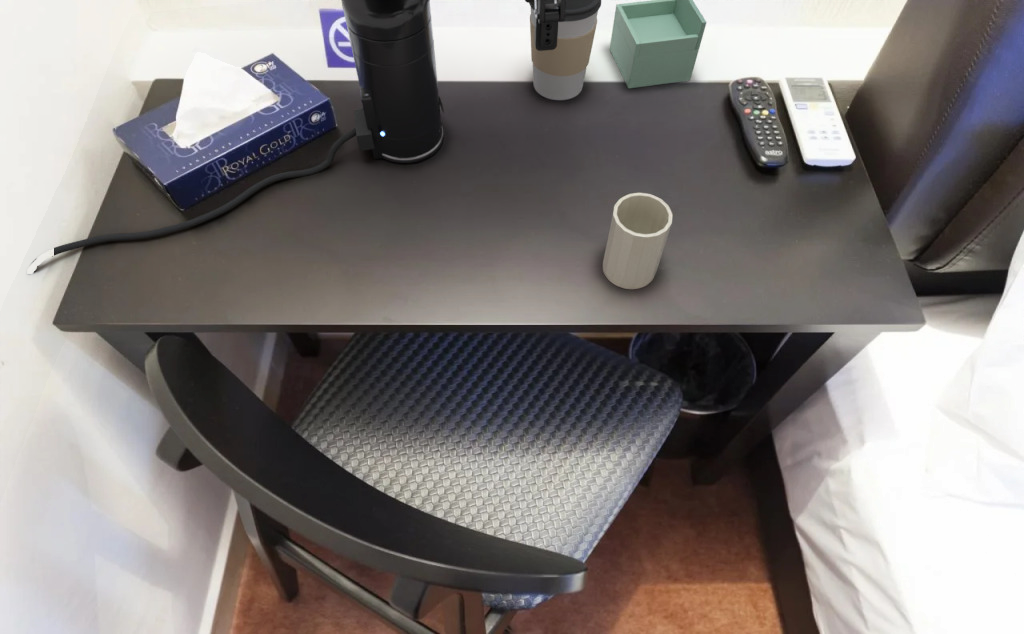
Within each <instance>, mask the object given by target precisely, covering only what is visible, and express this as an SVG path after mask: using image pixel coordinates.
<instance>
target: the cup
mask: <svg viewBox="0 0 1024 634" xmlns="http://www.w3.org/2000/svg"><path fill="white" fill-rule="evenodd" d="M672 225H673V211H672V210H671V207H670V206H669V204H667V202H665V200H663V199H662V198H660V197H658V196H656V195H653V194H651V193H646V192H633V193H628V194H626V195H624V196H622V197H621V198H619V199H618V200H617V202H616V203H615V204H614V206H613V210H612V214H611V220H610V225H609V229H608V235H607V239H606V244H605V250H604V253H603V259H602V272H603V274H604V276H605V278H606V279H607V280H608V281H609V282H610V283H611V284H613V285H615V286H616V287H619V288H622V289H625V290H638V289H642V288H644V287H646V286H648V285H649V284H650V283H651V282H652V281H653V280H654V279H655V276H656V274H657V272H658V268H659V264H660V262H661V259H662V256H663V252H664V249H665V247H666V243H667V240H668V237H669V235H670V234H669V233H670V231H671V228H672Z"/></svg>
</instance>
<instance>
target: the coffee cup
mask: <svg viewBox="0 0 1024 634" xmlns="http://www.w3.org/2000/svg"><path fill="white" fill-rule="evenodd" d="M528 4H529V6H530V15H529V30H530V55H531V63H532V82H533V83H532V84H533V88H534V90H535V91H536V93H537V94H539V95H540V96H542V97H544V98H546V99H547V100H553V101H566V100H570V99H573V98H575V97H577V96H578V95H579V94H581V92H582V90H583V87H584V81H585V78H586V77H585V76H586V73H587V67H588V66H589V64H590V59H591V54H592V48H593V44H594V40H595V35H596V31H597V25H598V14H599V10H600V8H601V6H602V0H566V9H565V12H566V18H565V21H564V22H558V37H557V47H556V48H555V49H554V50H545V51H538V50H537V49H536V47H535V15H534V9H535V2H532V3H528ZM545 4H555V2H554V0H546V1H545Z"/></svg>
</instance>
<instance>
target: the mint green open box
mask: <svg viewBox="0 0 1024 634" xmlns="http://www.w3.org/2000/svg"><path fill="white" fill-rule="evenodd" d="M706 26H707V20H706V19H705V17H704V16H703V14H702V13H701V10H700V9H699V7H698V6H697V5H696V3H695V1H694V0H643V1H635V2H625V3H618V4H617V3H616V5H615V11H614V18H613V24H612V31H611V37H610V45H609V51H610V54H611V55H612V57H613V59H614V62H615V64H616V66H617V68H618V70H619V72H620V74H621V76H622V79H623V80H624V82H625V85H626V88H627V89H635V88H643V87H652V86H660V85H666V84H674V83H675V84H676V83H681V82H690V81H691V80H692V76H693V72H694V69H695V65H696V61H697V58H698V54H699V50H700V47H701V44H702V40H703V37H704V33H705V30H706Z"/></svg>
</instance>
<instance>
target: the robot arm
mask: <svg viewBox="0 0 1024 634" xmlns="http://www.w3.org/2000/svg"><path fill="white" fill-rule="evenodd" d="M430 1H431V0H341V6H342V10H343V16H344V20H345V24H346V28H347V34H348V38H349V43H350V47H351V52H352V57H353V61H354V67H355V71H356V76H357V80H358V88H359V94H360V100H361V104H362V105H361V106H362V108H360V109H354V110H353V118H354V126H355V127H353V128H352V129H350V131H348V132H346V133H345V134H343V135H342V136H340V137H339V138H338V139H336V140H335V141H334V142H333V144H331V146H330V148H329V150H328V153H327V155H326V156H327V157H326V159H325V160H324V161H322V162H321V163H320V164H318V165H315V166H313V167H310V168H305V169H300V170H290V171H285V172H280V173H276V174H273V175H270V176H268V177H266V178H264V179H262V180H260V181H258V182H257V183H255V184H253V185H252V186H250V187H249V188H247V189H246V190H244V191H243V192H242V193H240V194H239V195H237V196H236V197H234V198H233V199H231V200H230V201H228V202H227V203H225V204H223V205H221V206H219V207H218V208H216V209H213V210H210V211H209V212H206V213H204V214H201V215H199V216H196V217H194V218H191V219H189V220H186V221H182V222H179V223H176V224H172V225H169V226H165V227H161V228H156V229H152V230H146V231H135V232H120V233H109V234H107V233H106V234H101V235H97V236H93V237H88V238H85V239H81V240H77V241H72V242H68V243H64V244H61V245H58V246H55V247H53V248H54V256H53V257H55V256H57V255H61V254H62V253H67V252H69V251H73V250H77V249H81V248H85V247H86V248H87V247H89V246H93V245H97V244H101V243H107V242H108V243H109V242H116V241H117V242H119V241H136V240H144V239H151V238H157V237H161V236H165V235H168V234H172V233H176V232H180V231H183V230H186V229H189V228H193V227H195V226H198V225H200V224H204V223H205V222H208V221H210V220H212V219H215V218H216V217H219V216H221V215H223V214H225V213H227V212H228V211H229V212H230V211H231V210H232V209H234V208H235V207H237V206H238V205H240V204H241V203H243V202H244V201H245V200H247V199H248V198H250V197H251V196H252V195H254V194H255V193H257V192H259V191H260V190H261V189H263V188H265V187H267V186H268V185H271V184H273V183H276V182H278V181H282V180H286V179H293V178H301V177H308V176H311V175H315V174H318V173H320V172H322V171H324V170H326V169H327V168H328V167H330V166H331V165H332V164H333V162H334V159H335V157H336V153H337V151H338V150H339V148H340V147H342V146H343V145H344V144H345V143H346V142H348V141H350V140H351V139H353V138H354V137H356V140H357V144H358V148H359V151H360V152H362V151H363V152H364V151H370V150H371V151H372V155H373V159H374V160H379V159H384V160H386V161H388V162H391V163H396V164H412V163H413V164H415V163H419V162H420V161H424V160H426V159H429V158H430V157H433V155H435V154H436V153H437V152H438V151H439V150H440V148H441V146H442V144H443V141H444V129H443V120H442V116H441V115H442V114H441V110H442V113H443V114H445V110H444V103H443V102H442V99H441V97H440V95H439V94H440V93H439V83H438V74H437V62H436V61H437V60H436V53H435V41H434V32H433V30H434V29H433V22H432V12H431V11H432V10H431V2H430ZM524 1H525V2H526V3H528V4H529V3H532V2H535V9H534V15H535V47H536V49H537V50H538V51H545V50H554V49H555V48H556V47H557V37H558V22H564V21H565V18H566V12H565V9H566V0H554V2H555V4H545V1H546V0H524Z"/></svg>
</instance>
